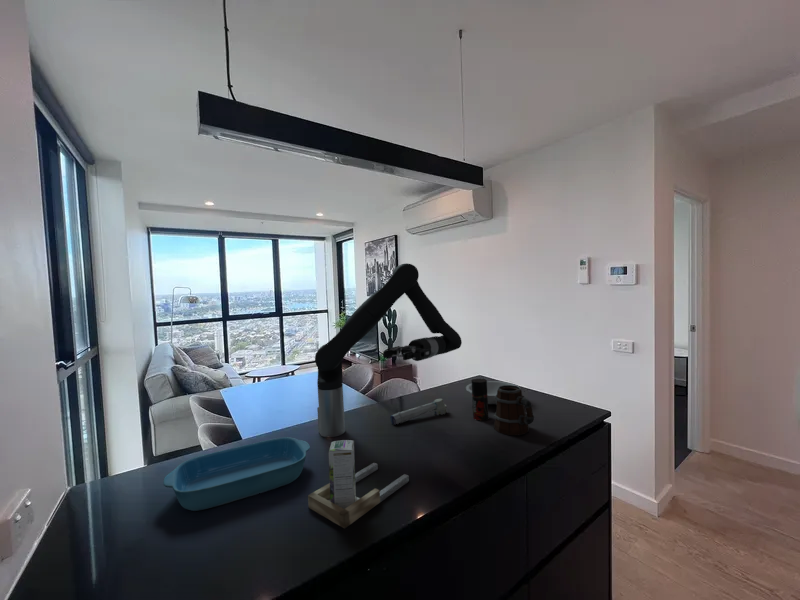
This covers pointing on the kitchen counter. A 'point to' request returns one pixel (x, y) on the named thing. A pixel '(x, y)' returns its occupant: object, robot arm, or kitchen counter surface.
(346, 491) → the syrup box
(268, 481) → the casserole dish
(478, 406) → the deodorant
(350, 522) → the socket
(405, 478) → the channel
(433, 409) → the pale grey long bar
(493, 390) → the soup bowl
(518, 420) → the mug
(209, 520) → the kitchen counter surface
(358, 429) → the kitchen counter surface
